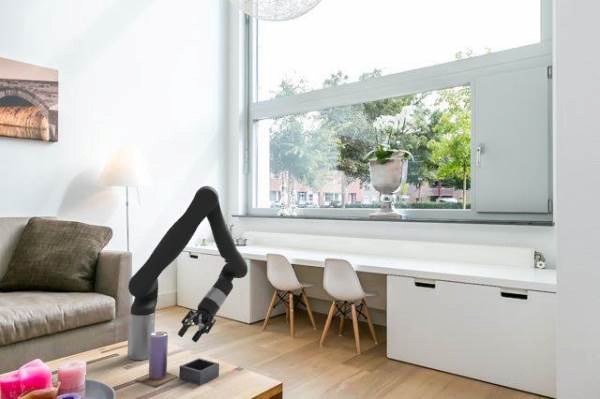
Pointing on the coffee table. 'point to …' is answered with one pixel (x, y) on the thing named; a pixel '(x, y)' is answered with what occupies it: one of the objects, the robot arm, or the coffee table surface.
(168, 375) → the walnut coaster
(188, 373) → the square socket
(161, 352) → the beverage can
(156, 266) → the robot arm
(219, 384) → the coffee table surface
